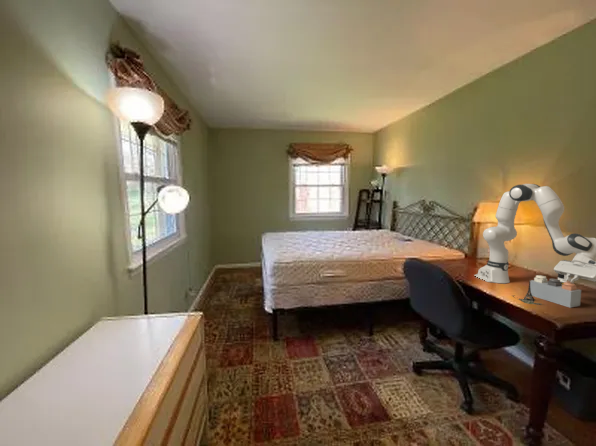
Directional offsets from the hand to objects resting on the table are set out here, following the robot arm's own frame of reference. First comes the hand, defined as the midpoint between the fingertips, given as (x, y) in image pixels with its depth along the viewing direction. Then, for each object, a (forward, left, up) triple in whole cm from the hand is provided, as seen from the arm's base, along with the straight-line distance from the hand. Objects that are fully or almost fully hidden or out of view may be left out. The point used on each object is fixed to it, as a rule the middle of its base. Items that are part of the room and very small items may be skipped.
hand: (569, 281), depth 169 cm
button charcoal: (-8, +1, -9) cm, 11 cm away
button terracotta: (0, +1, -9) cm, 9 cm away
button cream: (-15, +1, -9) cm, 17 cm away
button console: (-8, +1, -13) cm, 15 cm away
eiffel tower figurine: (-13, -12, -14) cm, 23 cm away
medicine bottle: (-16, +23, -13) cm, 31 cm away
